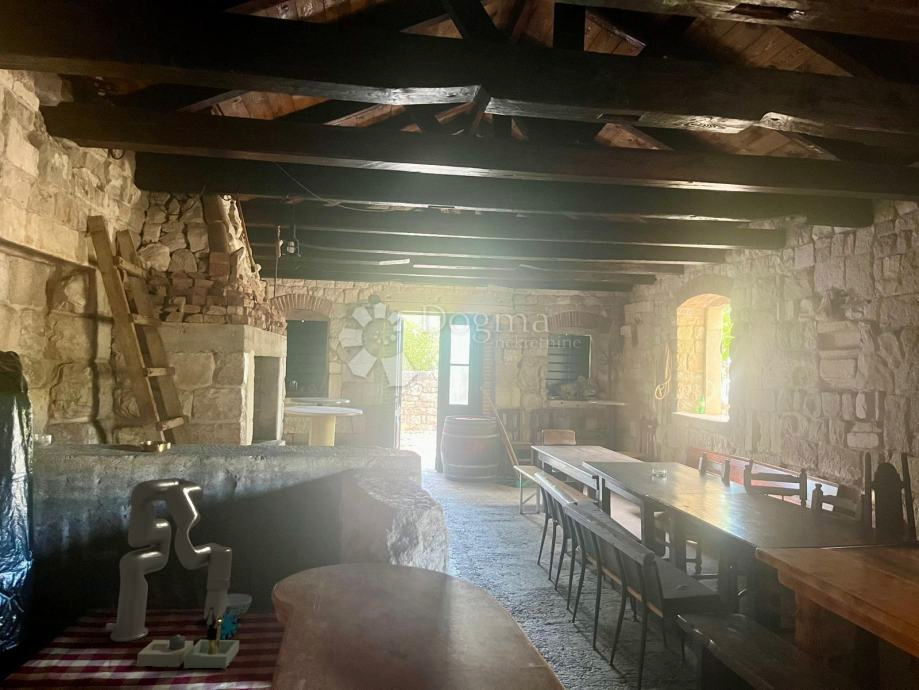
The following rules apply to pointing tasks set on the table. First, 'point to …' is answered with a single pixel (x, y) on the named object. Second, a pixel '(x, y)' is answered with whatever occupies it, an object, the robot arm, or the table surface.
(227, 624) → the teal lobed piece
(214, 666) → the tray
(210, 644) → the pin
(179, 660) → the beige boxy piece
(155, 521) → the robot arm
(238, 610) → the chinaware
